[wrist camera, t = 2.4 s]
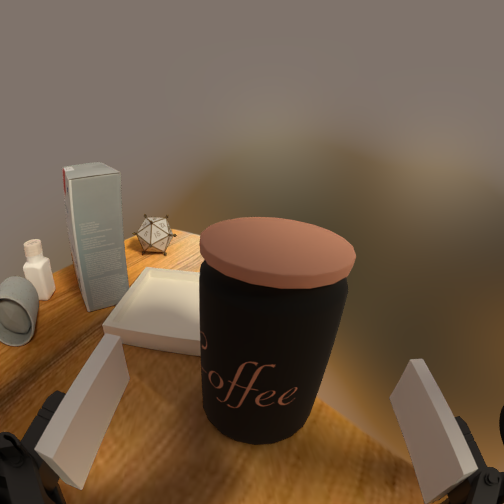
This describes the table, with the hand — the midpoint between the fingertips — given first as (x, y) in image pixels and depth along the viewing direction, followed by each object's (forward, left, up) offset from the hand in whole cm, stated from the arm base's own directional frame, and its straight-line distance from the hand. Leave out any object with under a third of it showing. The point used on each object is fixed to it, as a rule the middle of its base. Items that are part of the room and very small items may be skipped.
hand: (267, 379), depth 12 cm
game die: (+21, -46, -15) cm, 53 cm away
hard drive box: (+27, -30, -15) cm, 43 cm away
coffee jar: (-1, -10, -15) cm, 18 cm away
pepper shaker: (+35, -24, -15) cm, 45 cm away
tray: (+10, -25, -15) cm, 31 cm away
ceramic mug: (+34, -14, -15) cm, 40 cm away
